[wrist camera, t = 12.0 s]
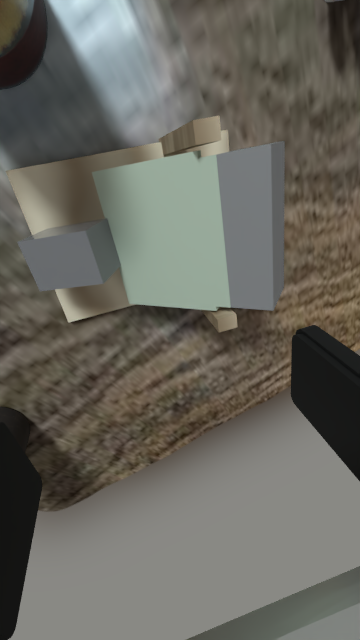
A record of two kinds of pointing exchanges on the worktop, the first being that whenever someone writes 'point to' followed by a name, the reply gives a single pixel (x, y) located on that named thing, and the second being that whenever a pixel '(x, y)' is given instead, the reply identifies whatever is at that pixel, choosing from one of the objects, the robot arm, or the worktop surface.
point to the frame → (84, 205)
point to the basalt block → (71, 255)
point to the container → (16, 425)
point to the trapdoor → (199, 228)
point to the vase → (21, 39)
